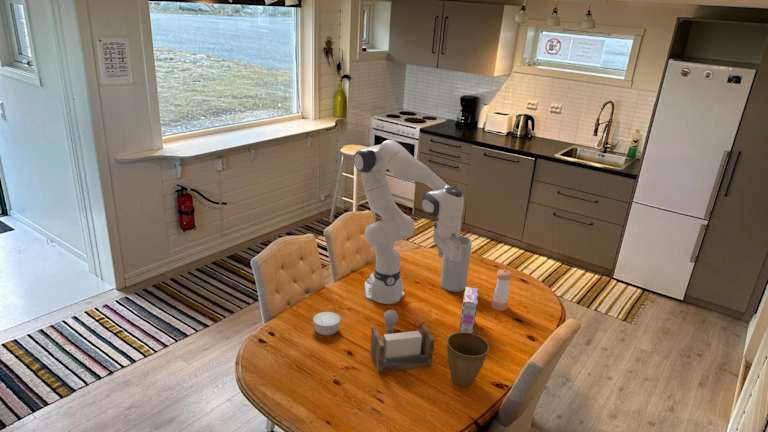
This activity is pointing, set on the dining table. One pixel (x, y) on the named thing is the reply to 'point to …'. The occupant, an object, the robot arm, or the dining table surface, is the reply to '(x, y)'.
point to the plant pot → (465, 356)
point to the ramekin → (326, 323)
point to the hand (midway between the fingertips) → (445, 262)
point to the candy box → (469, 310)
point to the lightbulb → (390, 320)
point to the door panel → (402, 344)
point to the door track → (402, 362)
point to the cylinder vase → (457, 268)
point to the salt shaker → (501, 290)
